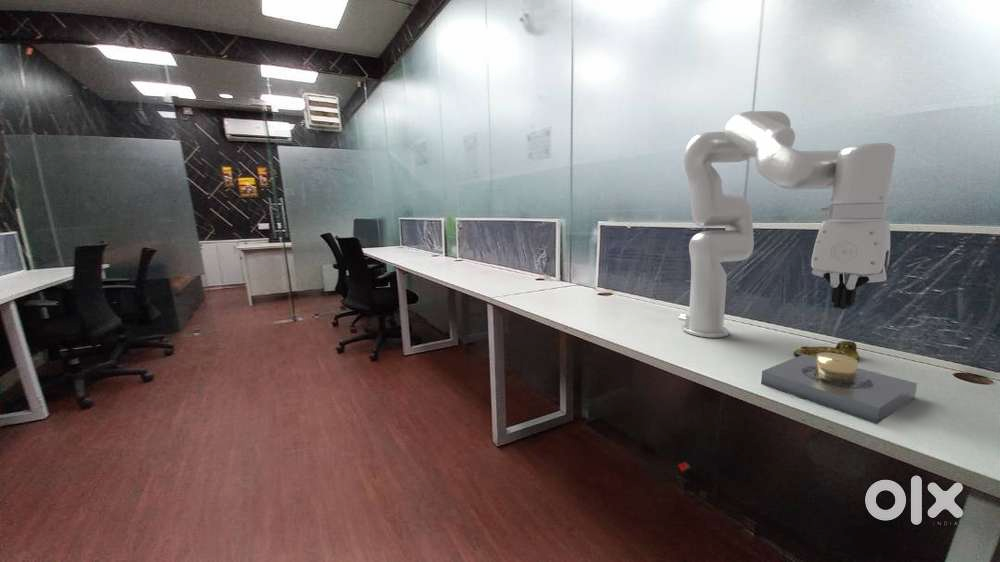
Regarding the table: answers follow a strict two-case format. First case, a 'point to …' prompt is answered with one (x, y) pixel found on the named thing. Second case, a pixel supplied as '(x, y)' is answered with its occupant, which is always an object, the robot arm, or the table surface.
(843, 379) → the gold cylinder
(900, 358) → the table surface
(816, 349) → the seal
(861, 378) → the jig
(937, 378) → the table surface
